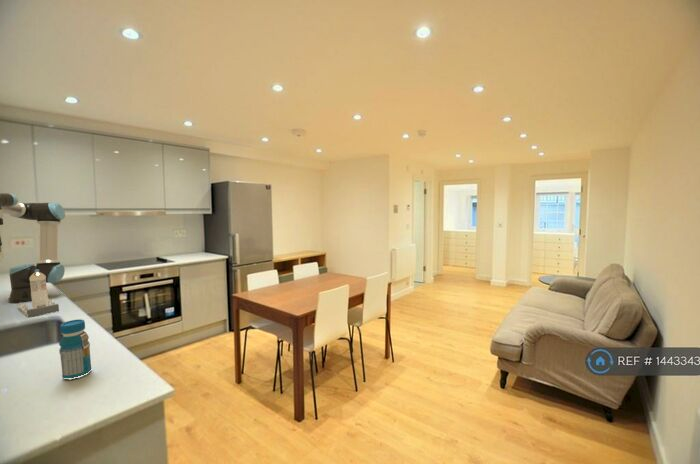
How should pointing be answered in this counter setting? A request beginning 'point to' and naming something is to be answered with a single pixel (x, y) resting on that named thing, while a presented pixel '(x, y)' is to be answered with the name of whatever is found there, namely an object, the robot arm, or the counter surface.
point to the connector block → (42, 310)
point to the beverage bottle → (74, 349)
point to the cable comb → (24, 308)
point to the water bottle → (38, 290)
